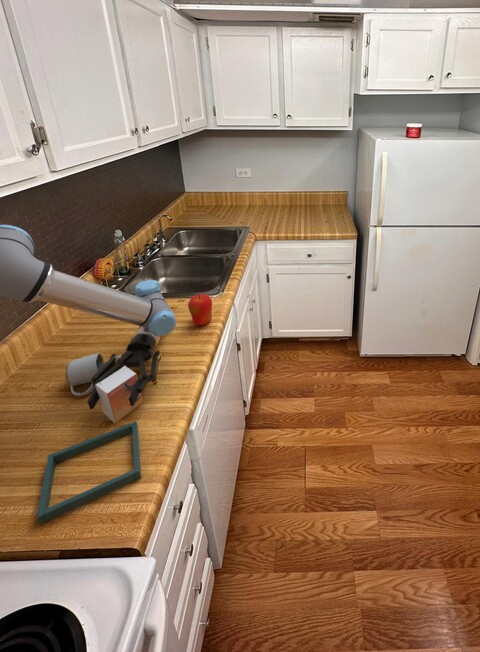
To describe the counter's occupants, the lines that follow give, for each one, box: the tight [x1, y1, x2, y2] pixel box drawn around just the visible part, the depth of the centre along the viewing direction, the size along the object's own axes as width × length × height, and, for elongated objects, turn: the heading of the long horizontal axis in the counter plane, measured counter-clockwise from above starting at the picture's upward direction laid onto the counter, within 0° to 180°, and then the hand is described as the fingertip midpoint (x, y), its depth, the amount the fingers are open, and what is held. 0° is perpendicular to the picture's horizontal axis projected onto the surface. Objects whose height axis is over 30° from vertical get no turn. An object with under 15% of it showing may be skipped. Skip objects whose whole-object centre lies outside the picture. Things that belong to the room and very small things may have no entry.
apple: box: [187, 293, 213, 326], centre depth 123 cm, size 9×8×12 cm
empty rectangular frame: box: [36, 420, 142, 525], centre depth 75 cm, size 18×14×2 cm
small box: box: [95, 365, 144, 424], centre depth 88 cm, size 8×6×10 cm
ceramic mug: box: [64, 352, 105, 397], centre depth 96 cm, size 11×8×8 cm
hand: (110, 403), depth 83 cm, fingers closed on small box, 9 cm apart
